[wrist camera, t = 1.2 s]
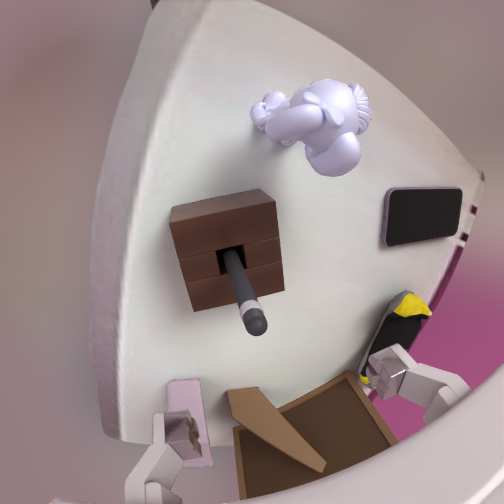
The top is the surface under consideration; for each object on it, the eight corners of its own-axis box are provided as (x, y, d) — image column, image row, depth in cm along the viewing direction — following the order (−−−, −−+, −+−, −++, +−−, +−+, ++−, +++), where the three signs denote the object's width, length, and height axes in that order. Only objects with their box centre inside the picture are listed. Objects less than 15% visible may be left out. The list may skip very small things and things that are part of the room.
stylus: (215, 233, 26) (245, 325, 14) (229, 230, 27) (269, 319, 14) (218, 245, 27) (248, 343, 14) (231, 242, 27) (272, 337, 15)
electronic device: (163, 376, 32) (164, 440, 23) (198, 374, 33) (207, 438, 24) (175, 416, 36) (180, 471, 27) (204, 414, 37) (214, 468, 28)
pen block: (172, 206, 24) (168, 223, 20) (259, 188, 26) (275, 200, 21) (191, 283, 28) (193, 312, 23) (269, 266, 29) (284, 290, 25)
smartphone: (389, 188, 28) (463, 187, 30) (383, 186, 29) (458, 186, 31) (383, 248, 31) (456, 235, 33) (378, 245, 32) (451, 232, 34)
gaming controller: (341, 365, 39) (386, 358, 42) (357, 389, 34) (402, 378, 37) (381, 280, 34) (424, 283, 37) (405, 302, 29) (447, 301, 32)
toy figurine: (325, 117, 24) (411, 115, 13) (291, 169, 25) (363, 197, 15) (267, 74, 21) (330, 35, 11) (229, 129, 23) (266, 124, 12)
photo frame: (353, 381, 42) (424, 492, 20) (244, 435, 42) (281, 553, 20) (332, 332, 35) (434, 485, 13) (196, 402, 36) (226, 562, 13)
